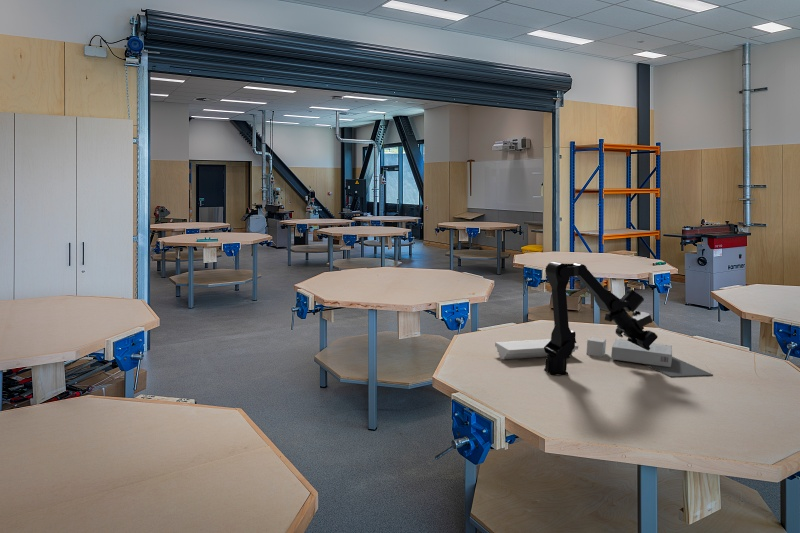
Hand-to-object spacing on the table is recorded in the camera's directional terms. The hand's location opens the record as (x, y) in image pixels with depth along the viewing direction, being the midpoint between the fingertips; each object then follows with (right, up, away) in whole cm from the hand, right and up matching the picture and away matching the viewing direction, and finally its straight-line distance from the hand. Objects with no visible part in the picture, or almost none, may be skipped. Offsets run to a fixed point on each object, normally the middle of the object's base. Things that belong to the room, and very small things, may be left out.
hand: (648, 349), depth 211 cm
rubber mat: (+9, -6, +2) cm, 11 cm away
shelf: (-39, -5, +11) cm, 41 cm away
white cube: (-14, -4, +17) cm, 22 cm away
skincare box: (-2, -3, +2) cm, 5 cm away
